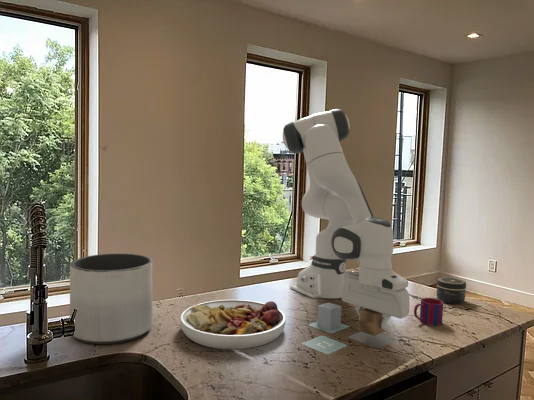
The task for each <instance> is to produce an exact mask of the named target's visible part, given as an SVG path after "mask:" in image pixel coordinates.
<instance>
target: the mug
mask: <svg viewBox="0 0 534 400" xmlns="http://www.w3.org/2000/svg"><path fill="white" fill-rule="evenodd" d="M419 307H420V310H419V316H418V313H417V312H418V311H417V310H418V308H419ZM443 312H444V302H443V301H441V300H438V298H433V297H424V298H421V299H420V303H417V304H415V306H414V309H413V315H414V317H415V319H417V320H419V322H420V323H421V324H423V325H429V326H433V327H434V326H435V327H437V326H441V325H443V317H444V315H443V314H444V313H443Z"/></svg>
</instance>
